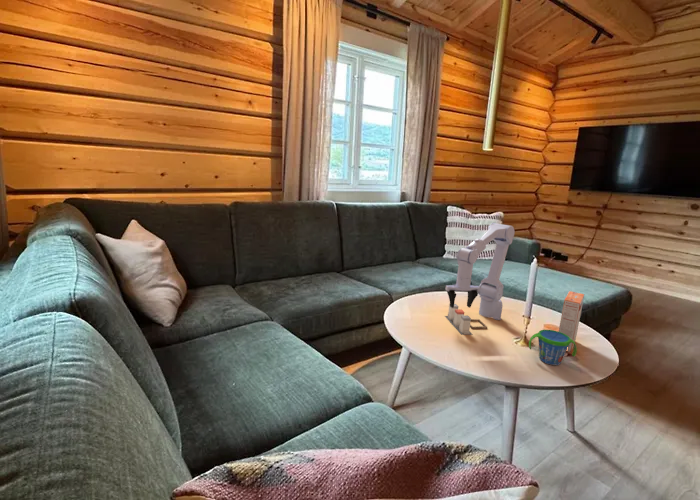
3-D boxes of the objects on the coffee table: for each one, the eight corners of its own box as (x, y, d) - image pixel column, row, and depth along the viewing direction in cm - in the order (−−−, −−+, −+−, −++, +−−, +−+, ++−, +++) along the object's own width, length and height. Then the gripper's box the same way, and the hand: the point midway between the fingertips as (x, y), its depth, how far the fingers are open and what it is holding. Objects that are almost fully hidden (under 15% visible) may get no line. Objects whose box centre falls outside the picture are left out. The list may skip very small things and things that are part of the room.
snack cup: (527, 362, 139) (531, 336, 136) (526, 349, 148) (530, 325, 146) (575, 373, 133) (581, 346, 131) (571, 359, 143) (576, 334, 140)
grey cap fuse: (454, 317, 173) (455, 303, 171) (456, 320, 170) (458, 306, 168) (447, 317, 172) (449, 303, 171) (450, 320, 169) (452, 306, 168)
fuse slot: (465, 329, 160) (467, 315, 159) (469, 333, 157) (471, 318, 156) (459, 329, 160) (461, 315, 158) (462, 333, 157) (464, 318, 155)
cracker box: (559, 336, 162) (568, 290, 157) (575, 341, 158) (585, 293, 153) (553, 348, 150) (563, 299, 146) (571, 353, 147) (581, 303, 142)
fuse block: (454, 318, 175) (455, 313, 174) (472, 337, 156) (473, 331, 156) (444, 318, 174) (444, 313, 173) (460, 337, 156) (461, 332, 155)
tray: (478, 323, 170) (479, 319, 170) (486, 331, 163) (487, 327, 162) (463, 323, 170) (464, 319, 169) (471, 331, 162) (471, 327, 161)
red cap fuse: (459, 323, 166) (461, 309, 165) (462, 326, 164) (464, 312, 162) (453, 323, 166) (455, 309, 165) (455, 326, 163) (457, 312, 162)
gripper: (476, 273, 165) (471, 303, 168) (444, 273, 162) (440, 303, 166) (483, 278, 158) (479, 309, 161) (450, 278, 156) (446, 309, 159)
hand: (460, 306), depth 163 cm, fingers open, 7 cm apart
